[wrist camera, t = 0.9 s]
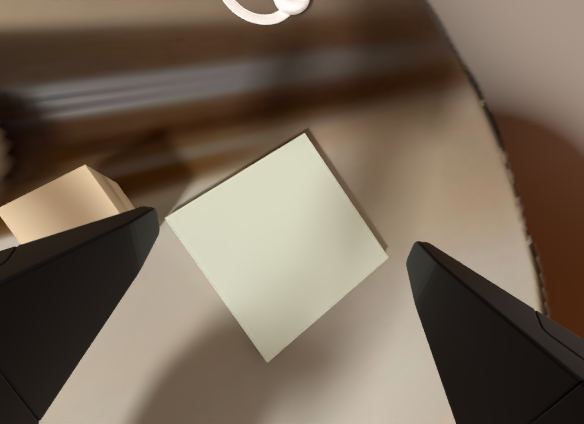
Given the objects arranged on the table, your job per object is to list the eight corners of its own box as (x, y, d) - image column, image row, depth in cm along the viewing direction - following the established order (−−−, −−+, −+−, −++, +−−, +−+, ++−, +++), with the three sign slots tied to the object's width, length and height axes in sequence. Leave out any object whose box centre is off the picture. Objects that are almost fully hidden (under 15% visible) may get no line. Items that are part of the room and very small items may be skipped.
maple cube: (92, 273, 20) (49, 282, 15) (52, 218, 19) (-5, 209, 15) (154, 235, 21) (133, 232, 16) (117, 183, 21) (85, 164, 16)
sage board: (265, 357, 22) (267, 363, 21) (167, 219, 21) (164, 217, 20) (382, 257, 26) (388, 257, 25) (301, 137, 25) (304, 133, 24)
